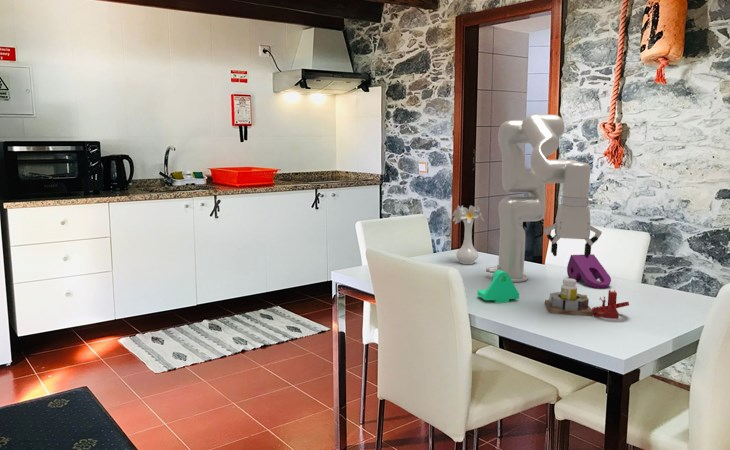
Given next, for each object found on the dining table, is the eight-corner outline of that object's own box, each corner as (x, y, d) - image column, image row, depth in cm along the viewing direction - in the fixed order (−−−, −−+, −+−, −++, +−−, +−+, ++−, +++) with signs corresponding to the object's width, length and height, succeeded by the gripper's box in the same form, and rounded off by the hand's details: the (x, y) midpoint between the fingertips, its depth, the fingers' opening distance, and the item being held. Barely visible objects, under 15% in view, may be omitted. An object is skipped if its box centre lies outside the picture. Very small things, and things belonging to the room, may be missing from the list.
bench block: (549, 313, 190) (549, 309, 190) (544, 303, 201) (544, 300, 201) (593, 315, 188) (593, 311, 188) (585, 305, 199) (586, 302, 199)
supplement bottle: (575, 304, 196) (577, 278, 195) (575, 308, 192) (577, 282, 190) (560, 302, 198) (561, 277, 196) (559, 306, 193) (561, 280, 192)
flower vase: (468, 257, 274) (470, 202, 270) (489, 266, 257) (492, 207, 253) (442, 259, 269) (443, 202, 266) (462, 268, 252) (464, 208, 248)
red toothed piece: (602, 308, 197) (604, 283, 195) (635, 318, 186) (637, 291, 185) (579, 313, 191) (581, 287, 190) (612, 323, 181) (614, 296, 180)
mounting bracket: (608, 302, 226) (587, 271, 241) (615, 284, 221) (593, 254, 236) (584, 302, 225) (565, 271, 239) (591, 285, 220) (571, 254, 235)
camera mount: (508, 295, 211) (510, 266, 209) (518, 301, 203) (520, 271, 202) (476, 297, 208) (477, 267, 207) (485, 303, 201) (486, 273, 199)
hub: (552, 309, 190) (553, 298, 189) (547, 300, 201) (548, 289, 200) (590, 311, 188) (591, 300, 187) (583, 301, 199) (584, 290, 198)
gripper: (601, 201, 192) (596, 254, 195) (544, 199, 194) (540, 252, 198) (606, 205, 185) (601, 260, 188) (547, 202, 187) (543, 257, 190)
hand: (570, 256), depth 193 cm, fingers open, 9 cm apart
